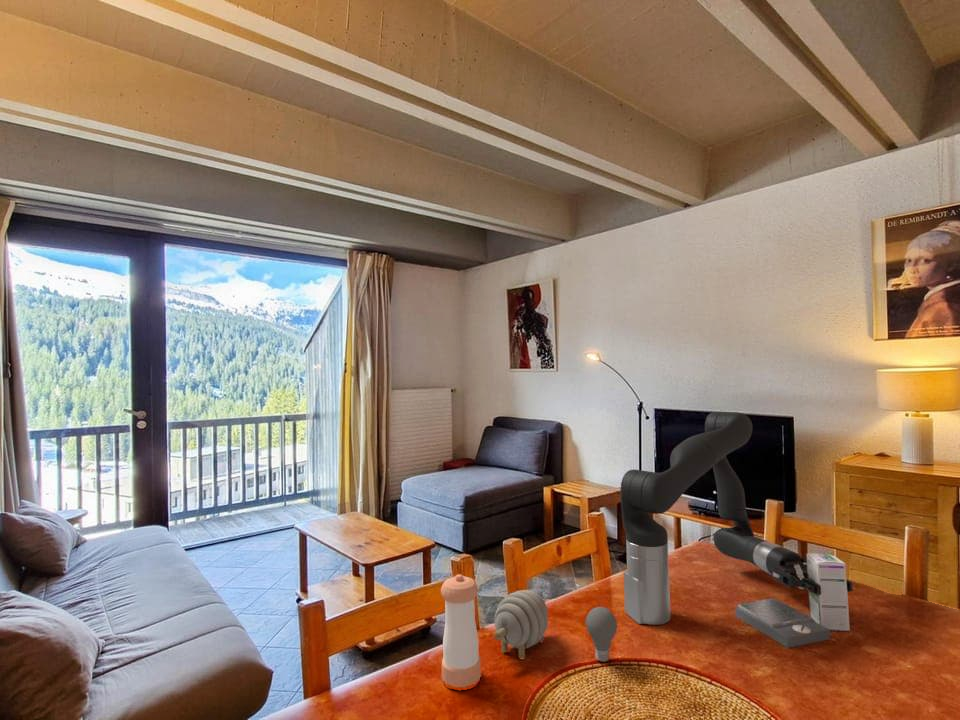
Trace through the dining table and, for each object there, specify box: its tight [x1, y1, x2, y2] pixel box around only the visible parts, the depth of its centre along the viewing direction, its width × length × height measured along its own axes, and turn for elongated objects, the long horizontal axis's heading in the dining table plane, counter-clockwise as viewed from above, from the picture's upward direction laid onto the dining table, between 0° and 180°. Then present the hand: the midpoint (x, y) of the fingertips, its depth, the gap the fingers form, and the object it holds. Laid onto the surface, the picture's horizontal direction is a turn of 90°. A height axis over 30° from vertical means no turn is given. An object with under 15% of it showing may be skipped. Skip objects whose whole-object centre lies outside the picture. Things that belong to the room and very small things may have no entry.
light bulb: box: [585, 606, 618, 662], centre depth 98 cm, size 6×6×10 cm
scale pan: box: [737, 597, 812, 628], centre depth 110 cm, size 10×10×1 cm
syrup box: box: [806, 552, 851, 632], centre depth 110 cm, size 6×6×14 cm
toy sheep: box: [493, 589, 549, 659], centre depth 103 cm, size 11×17×11 cm, turn 148°
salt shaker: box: [440, 573, 482, 687], centre depth 93 cm, size 7×7×19 cm
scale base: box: [734, 606, 831, 649], centre depth 109 cm, size 11×14×2 cm
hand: (835, 588), depth 108 cm, fingers closed on syrup box, 7 cm apart
